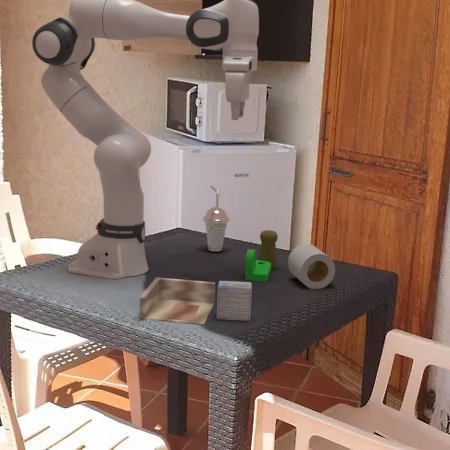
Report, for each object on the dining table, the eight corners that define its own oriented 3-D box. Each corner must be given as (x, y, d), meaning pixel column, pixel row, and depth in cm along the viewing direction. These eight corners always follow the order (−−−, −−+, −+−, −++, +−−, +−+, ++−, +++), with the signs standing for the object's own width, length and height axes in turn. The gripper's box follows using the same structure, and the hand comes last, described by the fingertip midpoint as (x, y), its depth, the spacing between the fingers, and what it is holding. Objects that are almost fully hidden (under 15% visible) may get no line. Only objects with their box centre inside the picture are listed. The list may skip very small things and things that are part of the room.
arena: (139, 321, 154) (140, 297, 152) (155, 299, 168) (156, 277, 167) (203, 327, 152) (204, 303, 150) (214, 304, 166) (215, 282, 165)
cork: (255, 268, 196) (257, 232, 194) (258, 263, 202) (260, 227, 200) (276, 270, 195) (278, 234, 193) (278, 264, 201) (280, 229, 199)
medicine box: (250, 316, 159) (251, 281, 157) (250, 323, 155) (251, 288, 153) (217, 314, 160) (218, 280, 158) (216, 321, 155) (217, 286, 153)
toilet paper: (286, 278, 189) (289, 244, 187) (319, 276, 191) (322, 243, 189) (299, 290, 180) (301, 254, 177) (333, 288, 182) (336, 253, 180)
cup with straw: (200, 252, 211) (202, 190, 206) (202, 244, 219) (204, 185, 215) (227, 253, 210) (230, 191, 206) (228, 246, 219) (231, 186, 214)
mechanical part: (266, 281, 185) (267, 254, 183) (245, 279, 186) (246, 252, 184) (272, 267, 196) (273, 241, 194) (251, 265, 197) (253, 240, 195)
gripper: (232, 63, 179) (230, 115, 183) (221, 62, 160) (219, 121, 163) (256, 64, 179) (253, 116, 182) (247, 63, 159) (245, 122, 162)
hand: (237, 118), depth 172 cm, fingers open, 8 cm apart
